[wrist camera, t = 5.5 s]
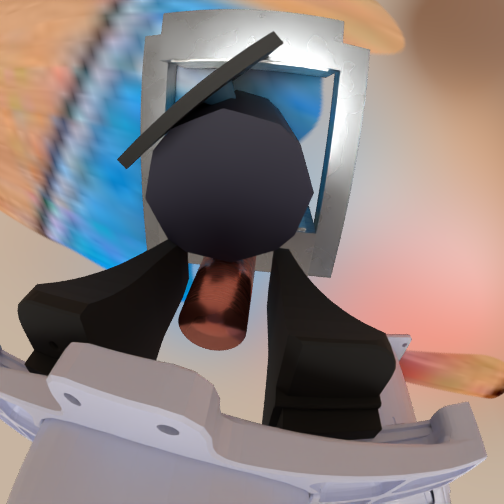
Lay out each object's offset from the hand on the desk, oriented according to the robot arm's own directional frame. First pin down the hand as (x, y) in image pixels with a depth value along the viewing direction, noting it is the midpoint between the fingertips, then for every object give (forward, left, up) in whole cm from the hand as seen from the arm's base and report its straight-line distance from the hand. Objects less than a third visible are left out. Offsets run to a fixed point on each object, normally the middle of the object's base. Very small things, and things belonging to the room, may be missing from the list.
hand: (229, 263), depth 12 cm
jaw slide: (-1, 0, -7) cm, 7 cm away
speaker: (+5, 0, -7) cm, 9 cm away
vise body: (+4, 0, -7) cm, 7 cm away
